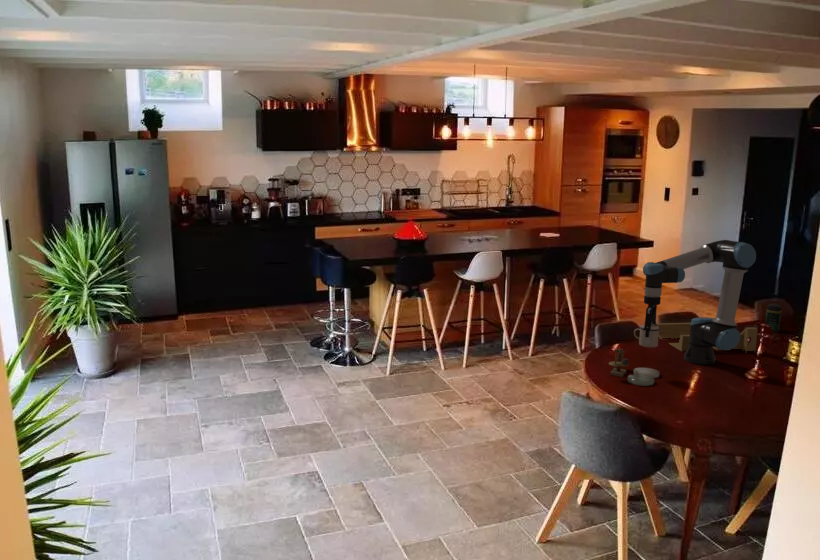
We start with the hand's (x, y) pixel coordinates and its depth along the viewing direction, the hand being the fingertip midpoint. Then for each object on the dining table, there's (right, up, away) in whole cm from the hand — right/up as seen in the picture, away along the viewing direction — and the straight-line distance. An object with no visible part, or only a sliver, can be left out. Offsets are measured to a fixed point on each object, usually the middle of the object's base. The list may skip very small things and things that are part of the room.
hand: (648, 341), depth 333 cm
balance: (-14, -16, +3) cm, 22 cm away
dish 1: (0, -17, +3) cm, 17 cm away
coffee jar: (+105, -3, +87) cm, 136 cm away
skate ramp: (+51, -8, +57) cm, 77 cm away
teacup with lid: (-1, -2, +1) cm, 3 cm away
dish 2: (-7, -18, -8) cm, 21 cm away
